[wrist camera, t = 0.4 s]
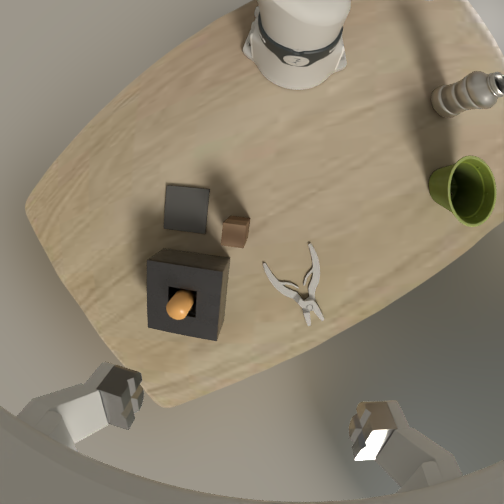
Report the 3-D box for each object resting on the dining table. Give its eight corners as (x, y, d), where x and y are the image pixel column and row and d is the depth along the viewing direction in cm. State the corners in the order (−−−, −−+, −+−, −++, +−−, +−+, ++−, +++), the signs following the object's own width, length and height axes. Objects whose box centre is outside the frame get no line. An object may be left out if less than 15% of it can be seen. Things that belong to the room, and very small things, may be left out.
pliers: (312, 244, 51) (340, 313, 54) (311, 242, 52) (338, 310, 55) (261, 265, 53) (292, 332, 56) (261, 263, 54) (292, 328, 57)
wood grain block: (230, 215, 52) (223, 222, 44) (250, 218, 52) (246, 225, 44) (228, 234, 53) (220, 245, 45) (247, 237, 53) (243, 248, 45)
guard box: (163, 248, 54) (147, 260, 47) (230, 258, 54) (222, 271, 46) (162, 309, 58) (147, 327, 50) (223, 320, 57) (216, 341, 50)
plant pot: (422, 149, 46) (454, 145, 35) (466, 167, 45) (500, 169, 35) (412, 208, 49) (442, 217, 38) (456, 222, 49) (489, 233, 38)
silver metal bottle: (456, 102, 42) (517, 83, 23) (446, 126, 44) (510, 113, 24) (433, 82, 42) (491, 54, 22) (422, 106, 43) (483, 82, 24)
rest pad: (167, 185, 51) (166, 185, 51) (209, 189, 51) (209, 189, 50) (164, 227, 53) (163, 228, 53) (205, 233, 53) (204, 233, 52)
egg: (177, 284, 51) (166, 297, 45) (197, 287, 50) (187, 301, 45) (177, 302, 51) (166, 317, 46) (196, 306, 51) (187, 321, 46)
